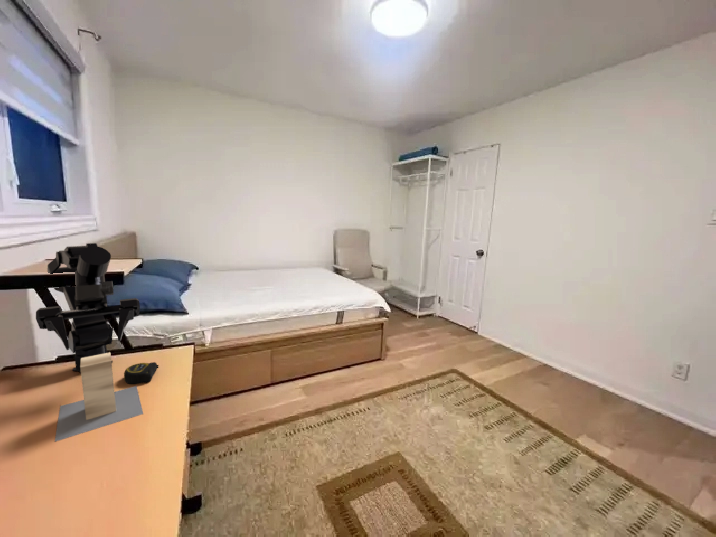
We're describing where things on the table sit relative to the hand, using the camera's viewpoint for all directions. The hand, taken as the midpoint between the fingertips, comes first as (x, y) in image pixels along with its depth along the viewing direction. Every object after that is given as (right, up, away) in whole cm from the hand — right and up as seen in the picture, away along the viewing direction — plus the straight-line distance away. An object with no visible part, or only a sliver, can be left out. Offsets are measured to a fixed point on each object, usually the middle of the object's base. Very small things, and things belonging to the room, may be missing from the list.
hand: (94, 344), depth 72 cm
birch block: (+4, -14, -3) cm, 15 cm away
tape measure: (+4, -12, +11) cm, 17 cm away
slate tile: (+4, -14, -3) cm, 15 cm away
